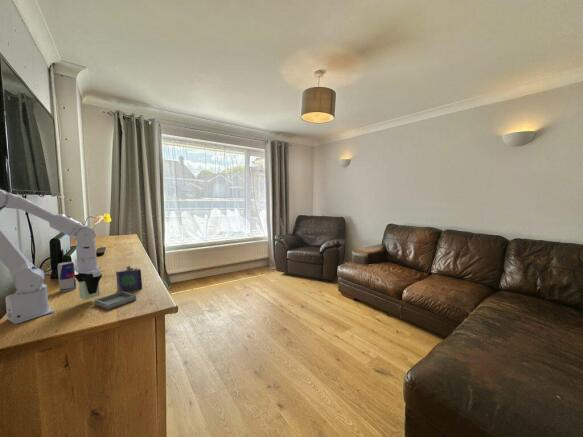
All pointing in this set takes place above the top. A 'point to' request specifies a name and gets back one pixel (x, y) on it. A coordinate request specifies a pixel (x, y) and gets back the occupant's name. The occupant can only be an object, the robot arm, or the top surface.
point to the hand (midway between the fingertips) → (89, 292)
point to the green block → (86, 291)
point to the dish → (115, 300)
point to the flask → (129, 279)
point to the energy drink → (66, 276)
